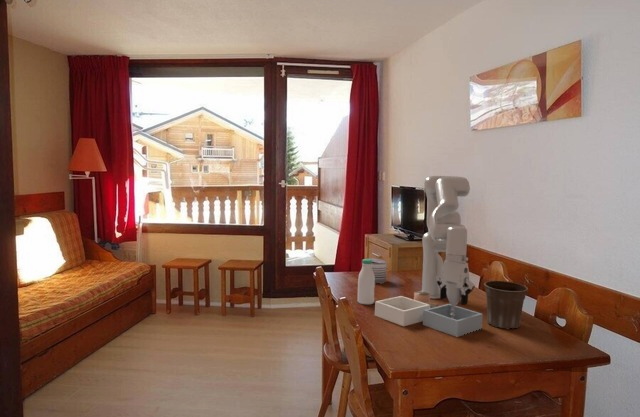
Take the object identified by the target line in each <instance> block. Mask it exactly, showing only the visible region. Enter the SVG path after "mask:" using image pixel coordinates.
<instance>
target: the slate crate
mask: <svg viewBox="0 0 640 417" xmlns="http://www.w3.org/2000/svg"><path fill="white" fill-rule="evenodd" d="M451 309H452V305H451V304H450V303H446V304H443V305H438V307H434V308H430V309H426V310H424V311H423V321H422V326H425V327H427V328H430V329H433V330H436V331H439V332H441V333H445V334H448V335H449V336H453V337H456V338H458V337H459V338H460V337H461V336H465V335H467V333H468V334H470V332H471V333H473V331H474V332H476V330H477V331H479V329H480V330H482V329H483V314H484V313H481V312H477V311H476V310H471V309H468V308H465V307H461V306H459V305H458V306H457V305H455V307H454V309H455V311H454V314H455V316H454V319H452V318H451V315H450V314H451V313H452V311H451ZM481 328H482V329H481ZM464 334H465V335H464Z"/></svg>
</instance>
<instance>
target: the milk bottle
mask: <svg viewBox="0 0 640 417" xmlns="http://www.w3.org/2000/svg"><path fill="white" fill-rule="evenodd" d="M371 259H372V258H363V259H362V260H361V266H362V267H361V270H360V272H359V274H358V277H357V278H358V281H357V303H358V304H361V305H372V304H375V292H376V290H375V289H376V287H375V286H376V283H375V276H374V273H373V270H372V260H371Z"/></svg>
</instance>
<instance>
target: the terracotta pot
mask: <svg viewBox="0 0 640 417" xmlns="http://www.w3.org/2000/svg"><path fill="white" fill-rule="evenodd" d="M413 300H416V301H419V302H423V303H426V302H430V303H431V298H430V293H427V292H419V291H415V292H413Z"/></svg>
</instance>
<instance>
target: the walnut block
mask: <svg viewBox="0 0 640 417" xmlns="http://www.w3.org/2000/svg"><path fill="white" fill-rule="evenodd" d="M426 304H429V305H430V308H434V307H438V306H439V303H435V302H431V301H430V302H426Z"/></svg>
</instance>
